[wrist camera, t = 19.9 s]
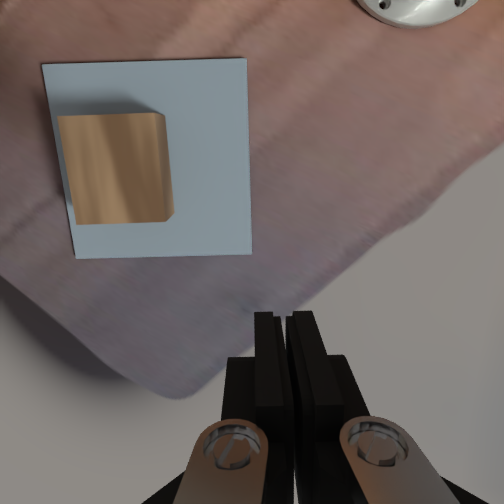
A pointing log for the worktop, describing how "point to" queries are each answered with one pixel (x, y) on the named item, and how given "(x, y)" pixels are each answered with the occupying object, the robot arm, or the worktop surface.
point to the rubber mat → (180, 151)
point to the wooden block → (118, 167)
